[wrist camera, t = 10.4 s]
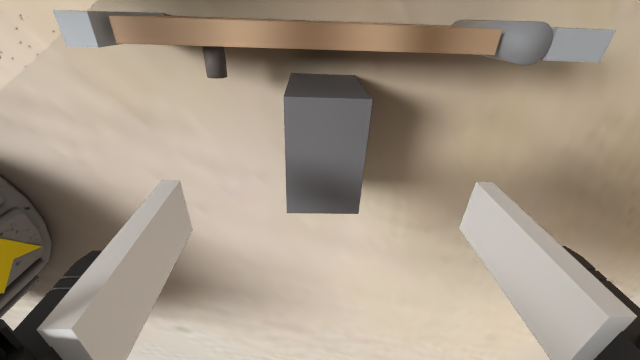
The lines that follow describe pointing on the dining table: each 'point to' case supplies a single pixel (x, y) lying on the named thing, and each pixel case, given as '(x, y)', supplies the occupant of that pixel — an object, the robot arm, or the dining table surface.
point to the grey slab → (514, 44)
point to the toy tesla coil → (20, 245)
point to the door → (298, 36)
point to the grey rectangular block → (325, 142)
